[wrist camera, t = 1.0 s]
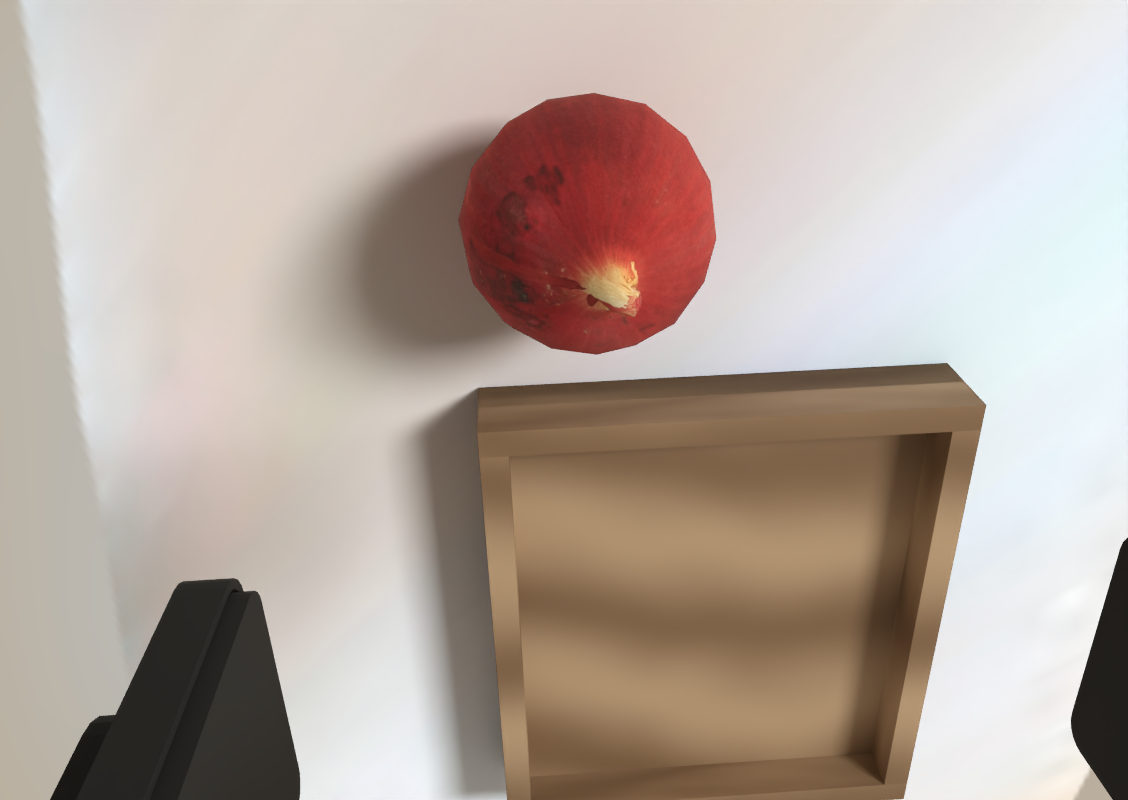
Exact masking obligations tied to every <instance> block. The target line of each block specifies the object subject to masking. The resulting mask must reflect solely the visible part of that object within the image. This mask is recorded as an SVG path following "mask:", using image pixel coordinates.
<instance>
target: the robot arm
mask: <svg viewBox="0 0 1128 800" xmlns="http://www.w3.org/2000/svg"><path fill="white" fill-rule="evenodd" d="M1071 729H1072V733H1073V738H1074V740H1075V743H1076V745H1077V747H1078V749H1079V751H1080V752H1081V754H1082V755H1083V757H1084V758H1085V760H1086V761H1087V763H1088V764H1089V766H1090V767H1091V769H1092V770H1093V771H1094V773H1095V774H1096V776H1097V777H1098V779H1099V780H1100V782H1101V783H1102V785H1103V786H1104V788H1105V789H1106V790H1107V792H1108V793H1109V795H1110V796H1111V798H1112V799H1113V800H1128V538H1127V539H1126V540H1125V541H1124V542H1123V544H1122V546H1121V548H1120V551H1119V555H1118V558H1117V562H1116V565H1115V568H1114V572H1113V575H1112V579H1111V582H1110V585H1109V589H1108V592H1107V596H1106V599H1105V603H1104V606H1103V609H1102V613H1101V616H1100V620H1099V623H1098V626H1097V630H1096V633H1095V637H1094V640H1093V643H1092V647H1091V650H1090V654H1089V657H1088V661H1087V664H1086V667H1085V671H1084V674H1083V678H1082V681H1081V684H1080V688H1079V691H1078V695H1077V698H1076V701H1075V705H1074V708H1073V712H1072V717H1071ZM299 797H300V773H299V767H298V762H297V758H296V753H295V749H294V744H293V740H292V735H291V731H290V726H289V722H288V717H287V713H286V709H285V704H284V700H283V695H282V691H281V686H280V682H279V677H278V673H277V668H276V664H275V659H274V655H273V650H272V646H271V641H270V637H269V632H268V628H267V624H266V619H265V615H264V610H263V606H262V601H261V598H260V595H259V594H258V592H256V591H246V592H243V588H242V585H241V584H240V582H239V581H238V580H237V579H235V578H232V579H216V580H199V581H183V582H181V583H179V584H178V585H177V587H176V588H175V590H174V592H173V594H172V596H171V598H170V600H169V602H168V604H167V607H166V609H165V611H164V613H163V615H162V617H161V619H160V622H159V624H158V626H157V628H156V630H155V632H154V634H153V636H152V639H151V641H150V643H149V645H148V647H147V649H146V651H145V653H144V656H143V658H142V660H141V662H140V664H139V666H138V668H137V670H136V673H135V675H134V677H133V679H132V681H131V683H130V685H129V688H128V690H127V692H126V694H125V696H124V698H123V701H122V702H121V705H120V707H119V709H118V711H117V713H116V715H109V716H99V717H98V718H96V719H95V720H94V721H92V722H91V723H90V724H89V726H88V727H87V729H86V730H85V732H84V733H83V735H82V737H81V739H80V741H79V743H78V745H77V747H76V749H75V751H74V753H73V755H72V757H71V759H70V761H69V763H68V765H67V767H66V769H65V771H64V773H63V775H62V777H61V779H60V781H59V783H58V785H57V787H56V789H55V791H54V793H53V795H52V797H51V799H50V800H299Z"/></svg>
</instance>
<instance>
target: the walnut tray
mask: <svg viewBox="0 0 1128 800" xmlns="http://www.w3.org/2000/svg"><path fill="white" fill-rule="evenodd" d="M985 408H986V404H985V403H984V402H983V401H982V400H981V399H980V398H979V397H978V396H977V395H976V394H975V393H974V392H973V390H972V389H971V388H970V387H969V386H968V385H967V384H966V383H965V382H964V381H963V380H962V379H961V377H960V376H959V375H958V374H957V373H956V372H955V371H954V370H953V369H952V368H951V367H950V366H949V365H948V363H942V364H923V365H905V366H886V367H867V368H848V369H829V370H810V371H791V372H772V373H753V374H734V375H715V376H696V377H677V378H658V379H639V380H620V381H601V382H582V383H563V384H544V385H526V386H507V387H488V388H479V394H478V422H477V438H478V450H479V462H480V474H481V486H482V499H483V511H484V523H485V535H486V547H487V559H488V571H489V583H490V596H491V608H492V620H493V632H494V644H495V656H496V668H497V680H498V692H499V705H500V717H501V729H502V741H503V753H504V765H505V777H506V789H507V800H893V799H904V794H905V789H906V784H907V780H908V775H909V770H910V765H911V761H912V756H913V751H914V746H915V742H916V737H917V732H918V727H919V722H920V718H921V713H922V708H923V703H924V699H925V694H926V689H927V684H928V680H929V675H930V670H931V665H932V661H933V656H934V651H935V646H936V642H937V637H938V632H939V627H940V622H941V618H942V613H943V608H944V603H945V599H946V594H947V589H948V584H949V580H950V575H951V570H952V565H953V561H954V556H955V551H956V546H957V542H958V537H959V532H960V527H961V522H962V518H963V513H964V508H965V503H966V499H967V494H968V489H969V484H970V480H971V475H972V470H973V465H974V461H975V456H976V451H977V446H978V442H979V437H980V432H981V427H982V422H983V418H984V413H985Z"/></svg>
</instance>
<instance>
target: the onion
mask: <svg viewBox="0 0 1128 800" xmlns="http://www.w3.org/2000/svg"><path fill="white" fill-rule="evenodd" d="M459 225H460V229H461V234H462V238H463V243H464V247H465V252H466V256H467V261H468V266H469V270H470V274H471V277H472V281H473V284H474V285H475V287H476V288H477V289H478V290H479V292H480V293H481V294H482V295H483V296H484V298H485V299H486V300H487V301H488V302H489V304H490V305H491V306H492V307H493V309H494V310H495V311H496V312H497V313H498V315H499V316H500V317H501V318H502V319H503V321H504V322H505V323H507V324H508V325H510V326H511V327H512V328H514V329H516V330H518V331H520V332H522V333H523V334H525V335H527V336H529V337H531V338H533V339H535V340H537V341H539V342H540V343H542V344H544V345H546V346H548V347H550V348H553V349H559V350H567V351H574V352H582V353H589V354H601V353H605V352H609V351H613V350H618V349H622V348H626V347H630V346H634V345H637V344H638V343H640V342H642V341H644V340H645V339H647V338H649V337H651V336H653V335H655V334H656V333H658V332H660V331H662V330H664V329H665V328H667V327H669V326H671V325H673V324H674V323H675V322H676V321H677V319H678V318H679V316H680V315H681V314H682V312H683V311H684V310H685V308H686V307H687V305H688V304H689V303H690V301H691V300H692V298H693V297H694V296H695V294H696V293H697V291H698V290H699V289H700V287H701V286H702V284H703V283H704V281H705V277H706V273H707V270H708V266H709V263H710V259H711V255H712V252H713V248H714V245H715V241H716V232H715V222H714V213H713V203H712V194H711V184H710V180H709V178H708V176H707V174H706V173H705V171H704V169H703V167H702V165H701V163H700V161H699V159H698V158H697V156H696V154H695V152H694V150H693V148H692V146H691V145H690V143H689V141H688V139H687V137H686V136H685V135H683V134H682V133H681V132H680V131H678V130H677V129H676V128H675V127H673V126H672V125H671V124H670V123H668V122H667V121H666V120H665V119H663V118H662V117H661V116H660V115H658V114H657V113H656V112H655V111H653V110H652V109H651V108H650V107H648V106H647V105H646V104H643V103H638V102H633V101H629V100H624V99H619V98H615V97H610V96H605V95H600V94H596V93H591V94H584V95H577V96H570V97H563V98H556V99H549V100H546V101H544V102H542V103H541V104H539V105H537V106H535V107H534V108H532V109H530V110H528V111H527V112H525V113H523V114H521V115H520V116H518V117H516V118H514V119H513V120H511V121H509V122H507V124H506V125H505V126H504V127H503V128H502V130H501V131H500V132H499V133H498V135H497V136H496V137H495V139H494V140H493V141H492V143H491V144H490V145H489V147H488V148H487V149H486V150H485V152H484V153H483V154H482V156H481V157H480V158H479V159H478V161H477V162H476V163H475V165H474V166H473V168H472V170H471V173H470V177H469V181H468V185H467V189H466V193H465V197H464V201H463V205H462V208H461V212H460V216H459Z"/></svg>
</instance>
